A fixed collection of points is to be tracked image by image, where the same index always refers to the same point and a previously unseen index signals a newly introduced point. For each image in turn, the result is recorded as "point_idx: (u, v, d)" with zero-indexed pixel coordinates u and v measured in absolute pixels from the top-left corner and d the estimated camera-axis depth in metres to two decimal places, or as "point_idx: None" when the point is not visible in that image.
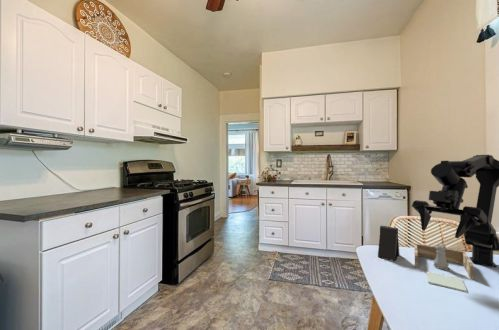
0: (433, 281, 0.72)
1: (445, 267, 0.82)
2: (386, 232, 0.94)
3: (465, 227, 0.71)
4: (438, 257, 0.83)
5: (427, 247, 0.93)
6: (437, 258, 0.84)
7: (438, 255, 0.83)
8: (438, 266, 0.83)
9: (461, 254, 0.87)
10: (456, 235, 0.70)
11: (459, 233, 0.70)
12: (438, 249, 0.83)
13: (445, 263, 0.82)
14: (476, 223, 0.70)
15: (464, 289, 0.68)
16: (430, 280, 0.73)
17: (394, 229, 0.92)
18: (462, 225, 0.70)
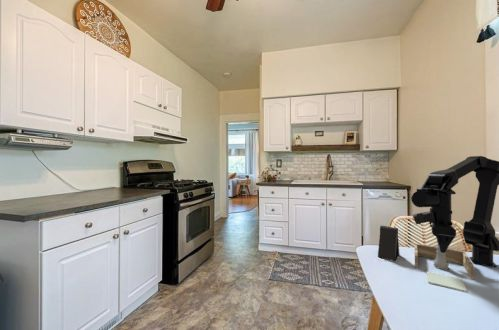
0: (433, 281, 0.72)
1: (445, 267, 0.82)
2: (386, 232, 0.94)
3: (444, 242, 0.79)
4: (438, 257, 0.83)
5: (427, 247, 0.93)
6: (437, 258, 0.84)
7: (438, 255, 0.83)
8: (438, 266, 0.83)
9: (461, 254, 0.87)
10: (440, 250, 0.80)
11: (442, 248, 0.80)
12: (438, 249, 0.83)
13: (445, 263, 0.82)
14: (449, 237, 0.77)
15: (464, 289, 0.68)
16: (430, 280, 0.73)
17: (394, 229, 0.92)
18: (438, 241, 0.80)
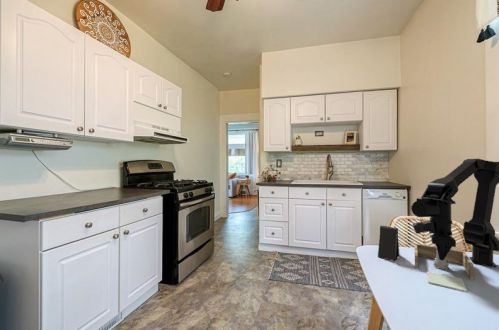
0: (433, 281, 0.72)
1: (445, 267, 0.82)
2: (386, 232, 0.94)
3: (443, 249, 0.81)
4: (438, 257, 0.83)
5: (427, 247, 0.93)
6: (437, 257, 0.84)
7: (438, 255, 0.83)
8: (438, 266, 0.83)
9: (461, 254, 0.87)
10: None
11: (440, 256, 0.82)
12: None
13: (445, 263, 0.82)
14: None
15: (464, 289, 0.68)
16: (430, 280, 0.73)
17: (394, 229, 0.92)
18: (437, 249, 0.82)
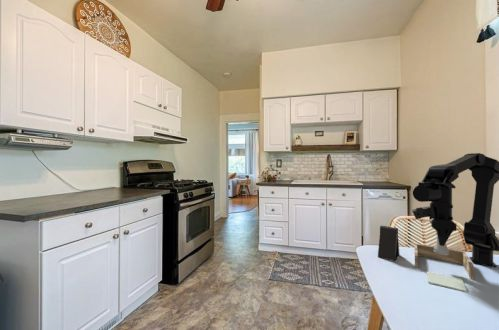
0: (433, 281, 0.72)
1: (445, 253, 0.80)
2: (386, 232, 0.94)
3: (443, 235, 0.79)
4: (438, 243, 0.81)
5: (427, 247, 0.93)
6: (437, 243, 0.81)
7: (438, 241, 0.81)
8: (438, 252, 0.81)
9: (461, 254, 0.87)
10: (439, 243, 0.81)
11: (441, 241, 0.80)
12: None
13: (445, 249, 0.80)
14: (448, 229, 0.77)
15: (464, 289, 0.68)
16: (430, 280, 0.73)
17: (394, 229, 0.92)
18: (437, 234, 0.80)
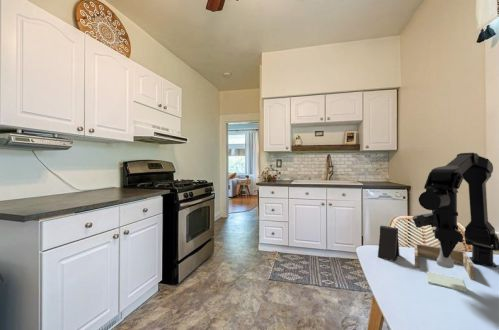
0: (433, 281, 0.72)
1: (450, 265, 0.71)
2: (386, 232, 0.94)
3: (448, 245, 0.71)
4: (442, 254, 0.73)
5: (427, 247, 0.93)
6: (441, 255, 0.73)
7: None
8: (442, 264, 0.72)
9: (461, 254, 0.87)
10: (443, 255, 0.72)
11: (445, 253, 0.72)
12: None
13: (450, 261, 0.72)
14: None
15: (464, 289, 0.68)
16: (430, 280, 0.73)
17: (394, 229, 0.92)
18: (441, 245, 0.72)
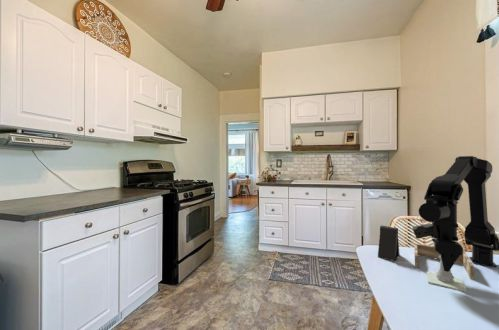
0: (433, 281, 0.72)
1: (450, 280, 0.71)
2: (386, 232, 0.94)
3: (449, 259, 0.69)
4: (442, 268, 0.73)
5: (427, 247, 0.93)
6: (441, 269, 0.73)
7: (442, 266, 0.73)
8: (442, 279, 0.72)
9: None
10: (444, 269, 0.71)
11: (445, 266, 0.70)
12: None
13: (450, 275, 0.71)
14: None
15: (464, 289, 0.68)
16: (430, 280, 0.73)
17: (394, 229, 0.92)
18: (441, 258, 0.70)
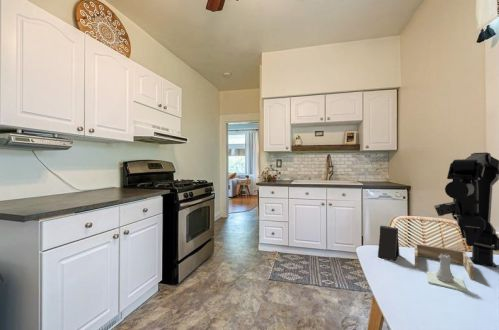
0: (433, 281, 0.72)
1: (450, 280, 0.71)
2: (386, 232, 0.94)
3: (472, 234, 0.72)
4: (442, 268, 0.73)
5: (427, 247, 0.93)
6: (441, 269, 0.73)
7: (442, 266, 0.73)
8: (442, 279, 0.72)
9: (461, 254, 0.87)
10: (467, 244, 0.74)
11: (469, 241, 0.73)
12: (442, 259, 0.73)
13: (450, 275, 0.72)
14: (478, 229, 0.70)
15: (464, 289, 0.68)
16: (430, 280, 0.73)
17: (394, 229, 0.92)
18: (464, 234, 0.74)
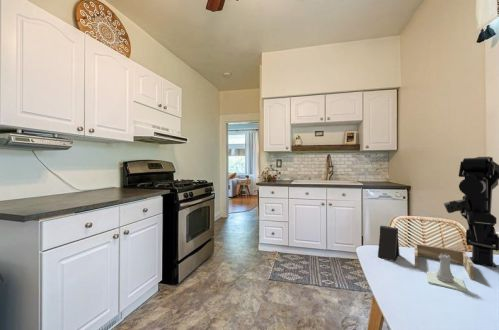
0: (433, 281, 0.72)
1: (450, 280, 0.71)
2: (386, 232, 0.94)
3: (482, 230, 0.74)
4: (442, 268, 0.73)
5: (427, 247, 0.93)
6: (441, 269, 0.73)
7: (442, 266, 0.73)
8: (442, 279, 0.72)
9: (461, 254, 0.87)
10: (477, 240, 0.76)
11: (478, 238, 0.75)
12: (442, 259, 0.73)
13: (450, 275, 0.72)
14: (488, 225, 0.72)
15: (464, 289, 0.68)
16: (430, 280, 0.73)
17: (394, 229, 0.92)
18: (474, 230, 0.75)
